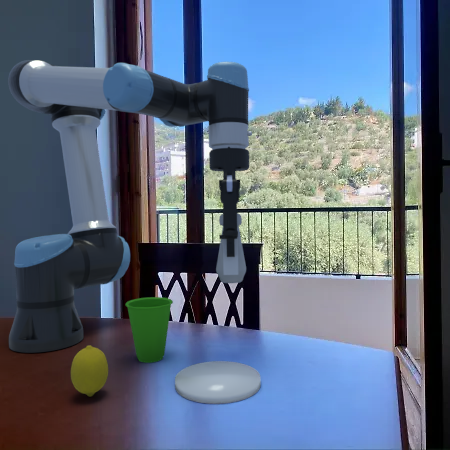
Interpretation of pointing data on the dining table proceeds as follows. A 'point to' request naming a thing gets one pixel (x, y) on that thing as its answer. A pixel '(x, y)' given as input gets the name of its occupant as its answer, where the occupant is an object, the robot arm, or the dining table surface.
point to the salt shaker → (241, 258)
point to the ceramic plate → (217, 382)
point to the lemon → (89, 370)
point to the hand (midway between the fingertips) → (231, 271)
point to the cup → (149, 326)
